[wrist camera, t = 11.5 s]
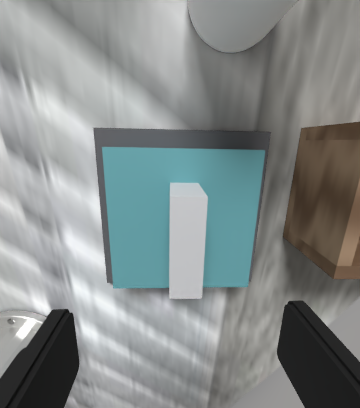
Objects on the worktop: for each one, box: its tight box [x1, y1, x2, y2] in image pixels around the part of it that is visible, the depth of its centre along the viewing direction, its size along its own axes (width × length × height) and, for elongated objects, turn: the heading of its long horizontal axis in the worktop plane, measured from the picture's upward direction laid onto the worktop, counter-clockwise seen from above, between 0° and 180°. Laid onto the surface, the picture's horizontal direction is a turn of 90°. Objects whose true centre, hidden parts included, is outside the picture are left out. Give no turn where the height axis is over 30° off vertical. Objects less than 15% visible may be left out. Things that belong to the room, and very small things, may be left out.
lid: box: [102, 147, 265, 299], centre depth 19 cm, size 14×14×8 cm
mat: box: [94, 128, 271, 283], centre depth 23 cm, size 17×17×1 cm
